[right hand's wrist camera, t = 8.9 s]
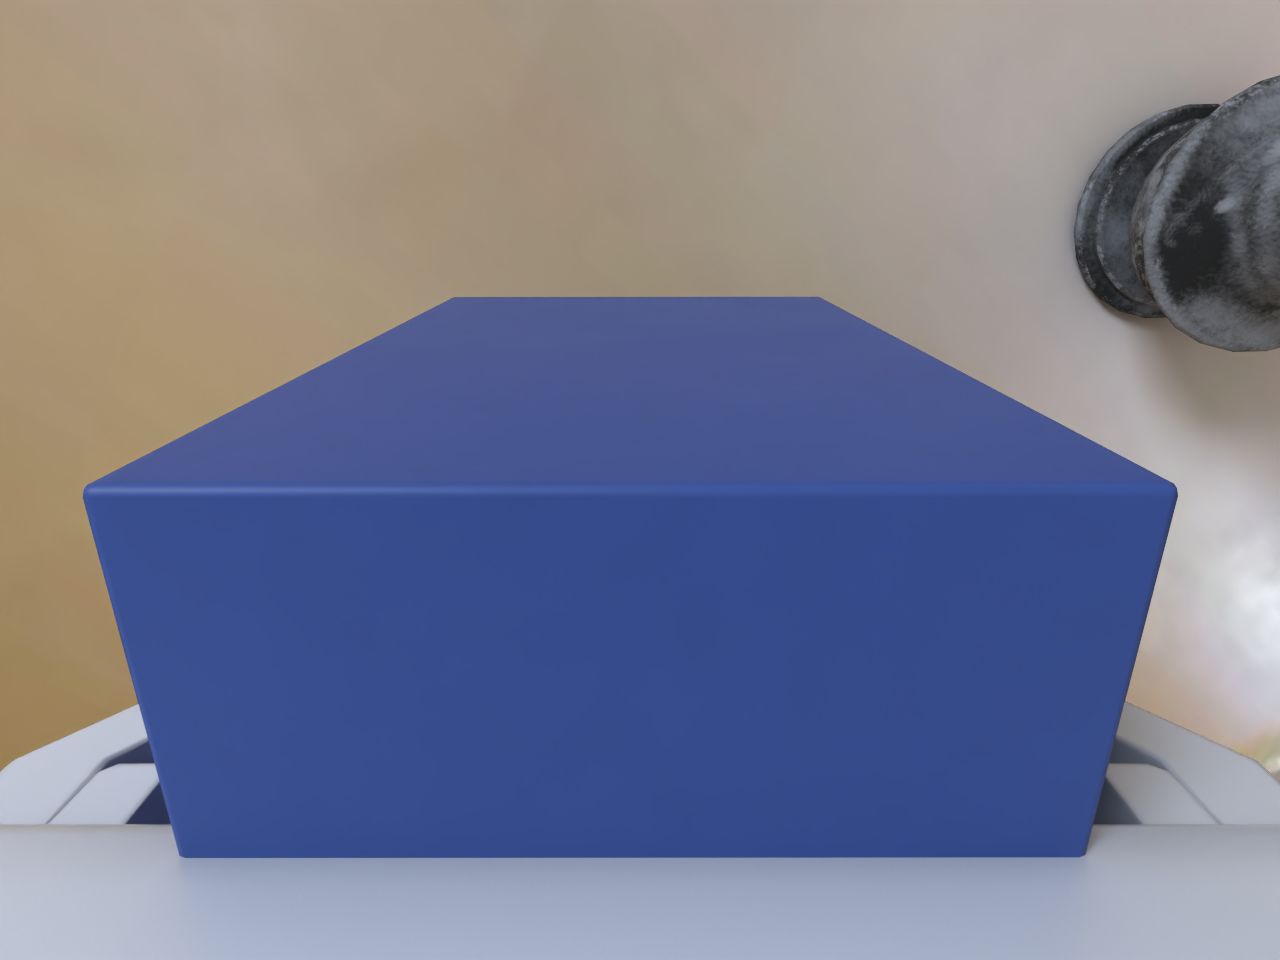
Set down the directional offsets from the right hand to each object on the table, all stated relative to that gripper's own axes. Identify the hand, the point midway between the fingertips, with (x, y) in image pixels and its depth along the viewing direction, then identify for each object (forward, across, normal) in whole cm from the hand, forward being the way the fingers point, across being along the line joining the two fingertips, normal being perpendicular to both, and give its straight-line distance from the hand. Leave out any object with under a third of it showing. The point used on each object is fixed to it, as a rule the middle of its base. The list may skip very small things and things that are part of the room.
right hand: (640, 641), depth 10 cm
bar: (+3, 0, -7) cm, 7 cm away
